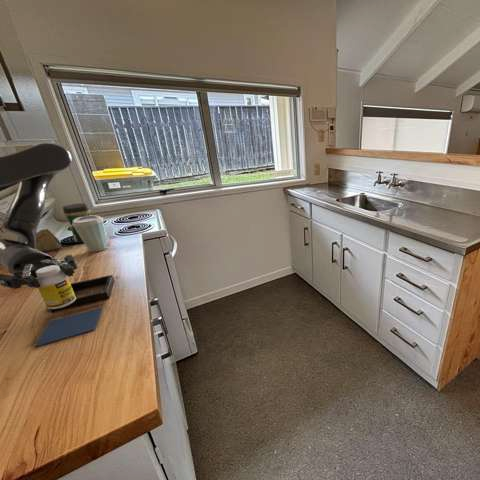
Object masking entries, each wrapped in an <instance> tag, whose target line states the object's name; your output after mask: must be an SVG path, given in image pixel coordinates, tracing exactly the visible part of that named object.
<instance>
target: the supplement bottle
mask: <svg viewBox="0 0 480 480" xmlns="http://www.w3.org/2000/svg"><path fill="white" fill-rule="evenodd" d="M60 272H61V270H60V268H59V266H57V265H52V266H47V267H43V268H41V269H38V270H37V271H36V274H37V276H38V278H39V279H38V282H39V284H40V286H41V287H38V288H37V289H38V291H39V294H40V295H41V297H42V300H43V303H44V304H45V307H46V308H47V309H49V310H50V309H57V308H62V307H65V306H67V305H69V304H71V303H73V302H74V301H75V300H76V298H77V297H76V293H75V291H73V289H72V286H71V284H72V283H71V282H70V279H69V276H67V275H66V274H64V273H60Z"/></svg>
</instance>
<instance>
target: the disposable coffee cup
mask: <svg viewBox="0 0 480 480" xmlns="http://www.w3.org/2000/svg"><path fill="white" fill-rule="evenodd" d="M104 224H105V223H104V218H103V217H101V216H100V215H97V214H96V215H95V214H90V216H84V217H79V218H76V219H74V220H73V223H72V226H73V227H74V228H75V230H76V231H77V233H78V234H79V236H80V237H81V239H82V240H83V242H82V243H83V244H84V245H85V247H86V248H87V250H88V251H89V252H92V253H94V252H101V251H103V250H106V249H107V248H108V240H107V235H106V229H105V225H104Z"/></svg>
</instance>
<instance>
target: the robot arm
mask: <svg viewBox="0 0 480 480" xmlns="http://www.w3.org/2000/svg"><path fill="white" fill-rule="evenodd" d="M72 162H73V161H72V155H71V153H70V151H68V150H67V149H66V148H64V147H63V146H61V145H58V144H55V143H50V142H42V143H39V144H36V145H33V146H31V147H28V148H25V149H23V150H20V151H17V152H14V153H11V154H8V155H3V156H0V192H3V191H5V190H8V189H10V188H12V187H14V186H15V185H18V187H17V190H16V192H15V194H14V196H13V199H12V201H11V203H10V205H9V207H8V209H7V212H6V213H5V217H4V219H3V221H2V224H1V228H2V229H3V230H4V231H6V232H9V233H12V234H13V235H16V236H18V238H19V239H20V241H19V240H14V239H8V238H3V237H0V266H3V267H4V268H6V269H7V271H8V274H4V273H3V274H0V285H1V287H7V288H9V289H13V290H17V289H21V288H22V287H23V286H26V287H29V288H35V289H38V287H41V286H40V284H39V282H38V279H39V278H38V276H37V274H36V271H37V270H38V269H41V268H43V267H47V266H52V265H57V266H59V268H60V270H61V272H60V273H64V274H66V275H67V277H68V278H70V277H73V276H74V274H75V273H76V272H75V270H77V269H79V266H78V265H77V263H76V260H75V258H74V256H73V255H72V254H67V255H65V257H63V259H62V258H61V259H60V258H59V259H58V258H53V257H52V256H50V255H49V254H47V253H45V252H44V251H43V252H41V251H39V250H37V249H36V233H37V232H38V231H37V230H38V227H39V226H40V222H41V220H42V217H43V215H44V211H45V207H46V206H45V205H46V196H47V192H48V189H49V186H50V184H51V183H52V181H53V179H54V178H55V177H56V175H57V174H60V173H62V172H65V171H66V170H68V169H69V168H70V166H71V164H72Z"/></svg>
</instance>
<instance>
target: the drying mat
mask: <svg viewBox="0 0 480 480" xmlns="http://www.w3.org/2000/svg"><path fill="white" fill-rule="evenodd" d="M102 310H103V308H102V307H99V308H95V309H90V310H87V311H82V312H79V313H75V314H71V315H67V316H64V317H59V318H56V319H52V320H49V322H48V324H47V325H46V327H45V328H44V330H43V332H42V333H41V335H40V337H39V338H38V340H37V342H36V343H35V345H34V348H38V347H41V346H45V345H48V344H52V343H55V342H59V341H62V340H63V341H64V340H66V339H69V338H73V337H76V336H79V335H83V334H86V333H91V332H93V331H95V330H96V327H97V326H98V325H97V324H98V322H99V318H100V315H101V312H102Z"/></svg>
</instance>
